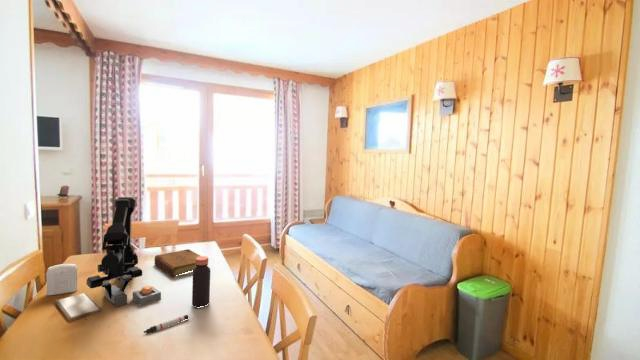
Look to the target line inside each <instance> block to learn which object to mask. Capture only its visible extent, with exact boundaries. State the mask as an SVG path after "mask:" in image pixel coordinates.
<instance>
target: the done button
mask: <svg viewBox="0 0 640 360" xmlns="http://www.w3.org/2000/svg"><path fill="white" fill-rule="evenodd" d="M140 290H141V295H143V296H145V295H148V294H151V293H152V286H151V285H146V286H143V287H141V289H140Z"/></svg>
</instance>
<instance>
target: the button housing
mask: <svg viewBox="0 0 640 360" xmlns="http://www.w3.org/2000/svg"><path fill="white" fill-rule="evenodd" d="M141 290H142V289H139V290H136V291H132V300H133V301H135V302H136V303H137V304H138V305H140V306H143V305H147V304H150V303H153V302H155V301H159V300H161V299H162V292H161V291H160V290H158V289H157V288H155V287H154V286H152V293H151V294H148V295H145V296H143V295H141Z"/></svg>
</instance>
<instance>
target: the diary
mask: <svg viewBox="0 0 640 360" xmlns="http://www.w3.org/2000/svg"><path fill="white" fill-rule="evenodd" d="M200 256H201V255H200V254H198V253H197V252H195V251H193V250H191V249H189V248H188V249H182V250H178V251H177V250H176V251H172V252H168V253H162V254H158V255H157V254H156V255H155V256H154V265H155V266H157V267H158V268H159V269H161V270H163V272H165V273H166V274H168V275H169V276H171V277H172V278H176V277H175V276H176V275H179V274H182V273H185V272H188V271H192V270H194V268H195V267H196V258H197V257H200Z"/></svg>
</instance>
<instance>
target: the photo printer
mask: <svg viewBox="0 0 640 360" xmlns="http://www.w3.org/2000/svg"><path fill="white" fill-rule="evenodd" d="M78 273H79V272H78V267H77V264H74V263H60V264H56V265H51V266H50V267H48V268H47V270H46V296H53V295H54V296H55V295H61V294H63V295H64V294H68V293H70V294H71V293H76V292H77V291H78Z"/></svg>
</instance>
